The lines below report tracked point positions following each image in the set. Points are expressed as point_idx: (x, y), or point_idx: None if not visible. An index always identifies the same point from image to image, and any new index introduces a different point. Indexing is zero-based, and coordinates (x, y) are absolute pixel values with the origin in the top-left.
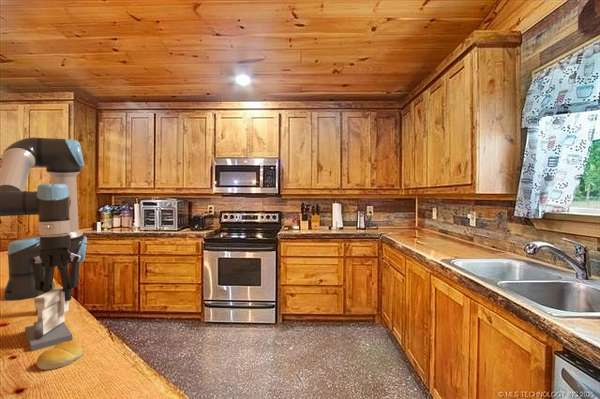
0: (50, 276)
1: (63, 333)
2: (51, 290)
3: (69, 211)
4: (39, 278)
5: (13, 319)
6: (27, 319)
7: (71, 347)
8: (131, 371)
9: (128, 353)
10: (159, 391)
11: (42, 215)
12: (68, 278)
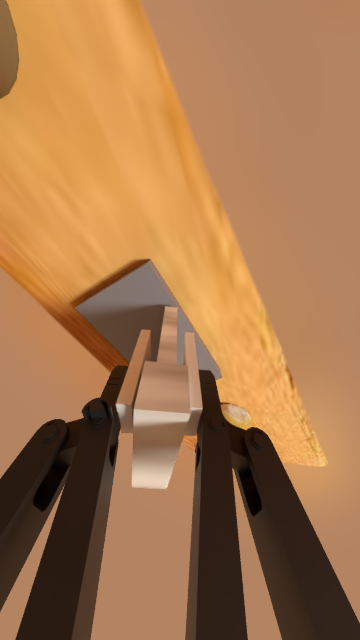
0: (95, 578)
1: (202, 368)
2: (136, 441)
3: None
4: (20, 563)
5: None
6: None
7: None
8: (303, 445)
9: (307, 420)
10: (319, 465)
11: None
12: (230, 519)
